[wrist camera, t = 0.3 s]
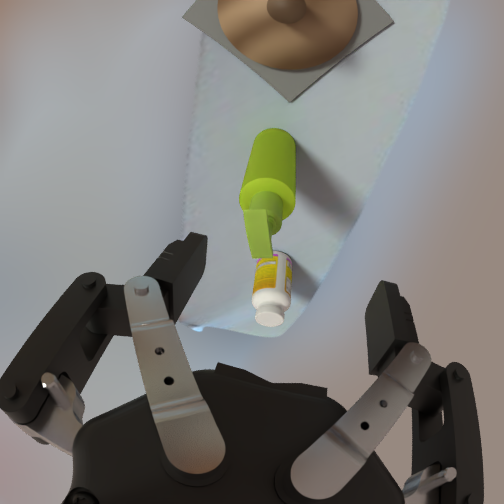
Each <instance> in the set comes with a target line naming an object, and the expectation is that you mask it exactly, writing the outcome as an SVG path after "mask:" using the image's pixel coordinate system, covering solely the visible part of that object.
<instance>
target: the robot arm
mask: <svg viewBox="0 0 504 504" xmlns="http://www.w3.org/2000/svg"><path fill="white" fill-rule="evenodd" d="M207 240H208V238H207V236H206V235H202V234H198V233H194V232H190V233H189V235H188V236H187V237H186V238H185V240H184V241H181V240H176V241H174V242H173V243H171V244H169V245H168V246H167V247H166V248H165V250H164V251H163V253H161V254H160V256H159V258H157V259H156V261H155V262H154V263H153V264H152V265H151V267H150V268H149V269H148V271H147V272H146V273H145V274H144V275H143V276H137V277H134V278H132V279H130V280H128V281H127V282H126V284H125V285H114V284H106V281H105V278H104V277H103V275H101V274H99V273H96V272H89V273H84V274H82V275H80V276H79V277H77V278H76V279H75V281H74V282H73V283H72V284H71V285H70V286H69V288H68V289H67V290H66V291H65V292H64V294H63V295H62V296H61V297H60V298H59V300H58V301H57V302H56V303H55V304H54V306H53V307H52V308H51V309H50V311H49V312H48V313H47V314H46V316H45V317H44V318H43V320H42V321H41V322H40V323H39V325H38V326H37V327H36V329H35V330H34V331H33V333H32V334H31V335H30V337H29V338H28V339H27V341H26V342H25V343H24V345H23V346H22V348H21V349H20V351H19V352H18V353H17V355H16V356H15V358H14V359H13V361H12V362H11V364H10V365H9V366H8V368H7V369H6V371H5V373H4V374H3V375H2V377H1V379H0V408H1V409H2V410H3V411H4V412H5V413H6V414H7V415H8V416H9V418H10V419H11V420H12V421H13V422H14V423H15V424H16V425H17V426H18V427H19V428H20V429H22V430H23V431H24V432H25V433H26V434H28V435H29V436H31V437H32V438H33V439H35V440H36V441H37V442H39V443H41V444H51V445H53V446H55V447H57V448H58V449H60V450H61V451H63V452H65V453H67V454H68V455H70V456H72V457H73V478H72V484H71V488H70V491H69V493H68V494H67V496H66V498H65V499H64V501H63V502H62V504H483V501H484V480H483V479H484V478H483V459H482V447H481V438H480V430H479V422H478V416H477V409H476V403H475V397H474V392H473V387H472V382H471V378H470V374H469V372H468V370H467V369H466V368H465V367H464V366H463V365H462V364H460V363H457V362H452V363H450V364H449V365H448V366H447V367H446V368H444V367H441V366H439V365H437V364H435V363H433V362H431V356H430V354H429V352H428V351H427V349H426V348H425V347H423V346H422V345H420V344H419V342H418V337H417V333H416V328H415V325H414V322H413V316H412V313H411V309H410V305H409V304H408V302H407V301H406V300H405V298H404V297H402V296H400V293H399V289H398V286H397V284H395V283H390V282H387V281H383V280H382V281H380V282H379V284H378V286H377V288H376V290H375V292H374V294H373V296H372V298H371V300H370V302H369V304H368V306H367V308H366V313H365V324H366V335H367V347H368V364H369V374H370V375H377V376H378V379H377V380H376V381H375V382H374V383H373V384H372V386H371V387H370V388H369V389H368V390H367V391H366V392H365V393H364V394H363V395H362V396H361V398H360V399H359V400H358V401H357V402H356V403H355V404H354V405H353V406H352V407H351V408H350V409H349V410H348V411H346V409H345V408H344V407H343V406H342V405H340V404H339V403H338V402H336V401H335V400H333V399H331V398H329V397H327V388H324V387H318V386H313V385H308V384H303V383H271V382H268V381H266V380H264V379H262V378H260V377H258V376H256V375H254V374H252V373H250V372H248V371H246V370H244V369H240V368H236V367H233V366H229V365H225V364H222V363H217V366H216V369H215V370H211V369H209V370H198V371H193V372H192V371H191V368H190V365H189V363H188V360H187V358H186V355H185V352H184V349H183V347H182V344H181V341H180V338H179V336H178V333H177V330H176V327H175V324H176V322H177V320H178V318H179V316H180V315H181V313H182V311H183V309H184V307H185V306H186V304H187V302H188V300H189V299H190V297H191V295H192V293H193V291H194V290H195V288H196V286H197V284H198V283H199V281H200V279H201V277H202V275H203V273H204V270H205V265H206V253H207ZM114 335H117V336H129V337H133V342H134V346H135V351H136V355H137V359H138V363H139V367H140V372H141V375H142V379H143V383H144V386H145V390H146V394H144V395H143V396H140V397H138V398H136V399H134V400H132V401H130V402H128V403H126V404H123V405H121V406H119V407H117V408H115V409H113V410H110V411H108V412H106V413H104V414H101V415H99V416H97V417H95V418H92V419H91V420H89V421H88V422H86V423H85V424H84V425H83V422H82V418H83V413H84V410H85V404H84V401H83V399H82V397H81V395H80V394H81V392H82V390H83V388H84V387H85V385H86V383H87V381H88V379H89V377H90V376H91V374H92V372H93V370H94V368H95V367H96V365H97V363H98V361H99V360H100V358H101V356H102V354H103V353H104V351H105V349H106V347H107V346H108V344H109V342H110V341H111V339H112V337H113V336H114ZM407 406H408V407H411V408H412V438H413V439H412V474H411V476H410V477H409V478H408V479H407V481H406V482H405V484H404V488H403V490H402V491H401V489H400V487H399V486H398V484H397V483H396V481H395V480H394V478H393V477H392V476H391V474H390V473H389V471H388V470H387V468H386V467H385V465H384V464H383V462H382V461H381V460H380V458H379V457H378V455H377V454H376V452H375V451H374V449H375V448H376V447H377V446H378V444H379V443H380V442H381V441H382V440H383V438H384V437H385V436H386V434H387V433H388V432H389V430H390V429H391V428H392V427H393V425H394V424H395V422H396V421H397V420H398V418H399V417H400V416H401V414H402V413H403V411H404V410H405V408H406V407H407ZM442 410H443V411H444V424H443V422H442Z"/></svg>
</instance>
